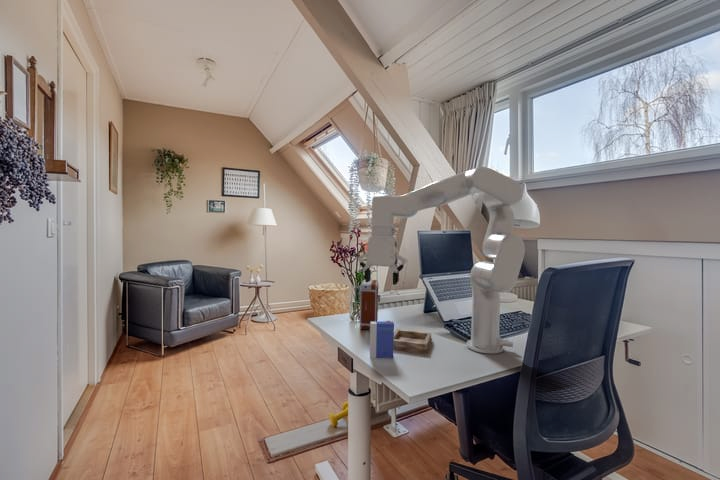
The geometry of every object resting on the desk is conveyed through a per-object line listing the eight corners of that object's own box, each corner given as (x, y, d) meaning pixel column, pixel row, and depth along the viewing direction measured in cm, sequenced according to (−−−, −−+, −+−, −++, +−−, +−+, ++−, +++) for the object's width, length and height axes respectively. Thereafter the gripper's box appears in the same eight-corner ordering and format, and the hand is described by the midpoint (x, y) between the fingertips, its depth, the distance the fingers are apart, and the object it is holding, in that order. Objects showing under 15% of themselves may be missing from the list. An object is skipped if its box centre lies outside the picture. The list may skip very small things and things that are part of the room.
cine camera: (380, 318, 159) (381, 277, 158) (378, 331, 140) (379, 284, 139) (361, 318, 160) (361, 276, 159) (356, 330, 140) (357, 283, 140)
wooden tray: (431, 341, 129) (432, 332, 129) (426, 354, 116) (427, 344, 115) (396, 336, 133) (396, 328, 133) (387, 348, 120) (387, 339, 120)
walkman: (391, 355, 114) (392, 320, 114) (393, 358, 112) (394, 322, 111) (369, 355, 114) (369, 320, 113) (369, 358, 111) (370, 322, 111)
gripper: (410, 232, 113) (409, 283, 113) (362, 231, 119) (361, 279, 120) (404, 233, 106) (403, 287, 106) (354, 231, 112) (353, 282, 113)
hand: (381, 282), depth 113 cm, fingers open, 9 cm apart
